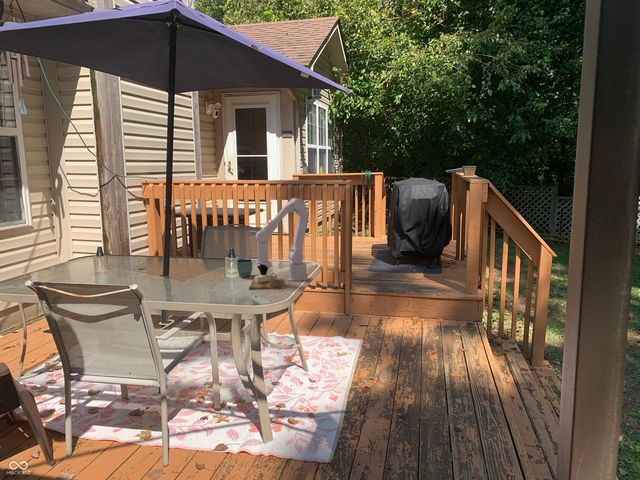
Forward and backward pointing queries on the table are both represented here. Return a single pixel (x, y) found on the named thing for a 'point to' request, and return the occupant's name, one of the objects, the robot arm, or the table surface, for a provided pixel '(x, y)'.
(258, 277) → the link
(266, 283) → the hinge board
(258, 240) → the robot arm
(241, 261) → the flower pot
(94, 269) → the table surface
